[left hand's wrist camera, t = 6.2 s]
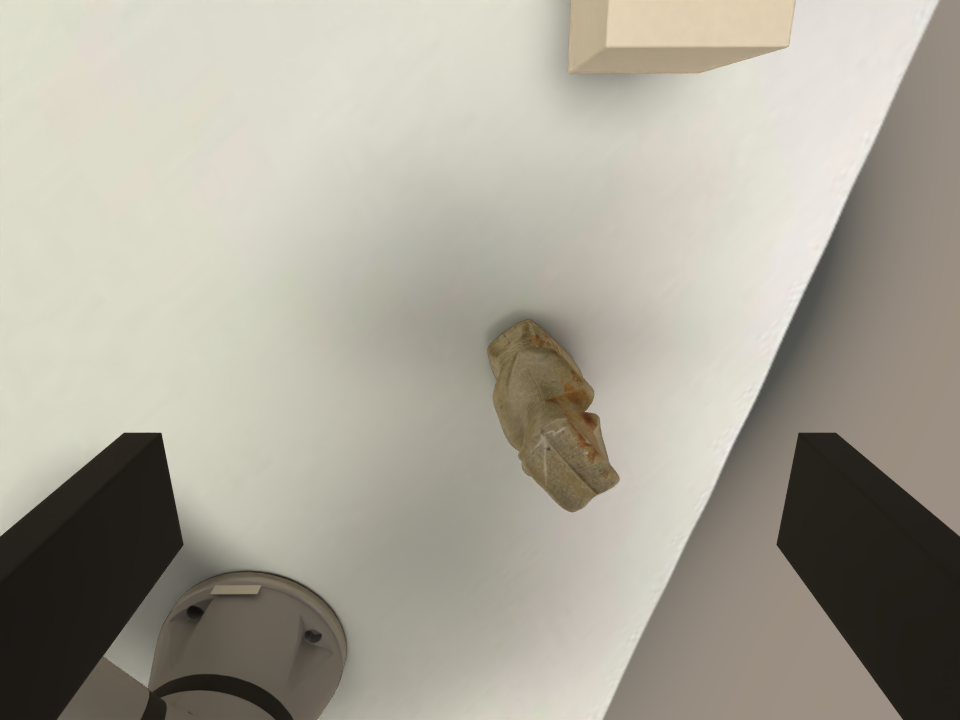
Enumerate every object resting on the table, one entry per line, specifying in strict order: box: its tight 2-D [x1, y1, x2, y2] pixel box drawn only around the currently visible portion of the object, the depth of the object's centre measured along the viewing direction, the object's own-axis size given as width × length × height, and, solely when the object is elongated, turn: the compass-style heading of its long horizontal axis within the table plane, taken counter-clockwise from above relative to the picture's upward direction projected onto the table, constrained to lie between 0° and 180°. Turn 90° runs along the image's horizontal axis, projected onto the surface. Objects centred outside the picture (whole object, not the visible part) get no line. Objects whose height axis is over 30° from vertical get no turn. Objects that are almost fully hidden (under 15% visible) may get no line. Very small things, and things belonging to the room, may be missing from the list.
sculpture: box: [487, 319, 620, 512], centre depth 37 cm, size 6×7×15 cm
